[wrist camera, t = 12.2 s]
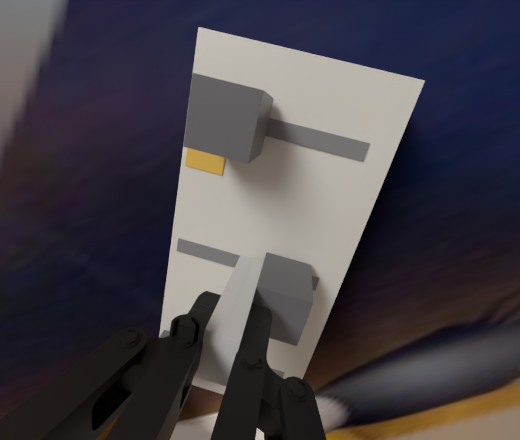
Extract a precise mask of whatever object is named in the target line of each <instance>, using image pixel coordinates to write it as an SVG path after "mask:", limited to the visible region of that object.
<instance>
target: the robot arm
mask: <svg viewBox="0 0 520 440" xmlns="http://www.w3.org/2000/svg"><path fill="white" fill-rule="evenodd" d="M263 262H264V261H261V260H258V259H254V258H251V257H247V256H244V255H240V257H239V259H238V261H237V264H236V266H235V268H234V270H233V272H232V274H231V276H230V278H229V280H228V282H227V285H226V287H225V289H224V291H223V293H222V295H219V294H216V293H212V292H209V291H205V292H203V293H202V294H200V295H199V296H198V297H197V299H196V301H195V303H194V304H193V306H192V307H191V309H190V311H189V312H188V314H183V315H179V316H177V317H175V318H174V319H173V320H172V321H171V327H170V334H169V336H168V337H164V338H147V335H146V333H145V332H144V331H143V330H141V329H138V328H126V329H122V330H121V331H119V332H117V333H115V334H114V335H113V336H111V337H110V338H109V339H107V340H106V341H105V342H103V343H102V344H101V345H99V346H98V347H97V348H95V349H94V350H93V351H92V352H90V353H89V354H88V355H86V356H85V357H84V358H82V359H81V360H80V361H78V362H77V363H76V364H74V365H73V366H72V367H70V368H69V369H68V370H66V371H65V372H64V373H62V374H61V375H60V376H58V377H57V378H56V379H54V380H53V381H52V382H50V383H49V384H48V385H46V386H45V387H44V388H42V389H41V390H40V391H38V392H37V393H36V394H34V395H33V396H32V397H30V398H29V399H28V400H26V401H25V402H24V403H22V404H21V405H20V406H18V407H17V408H16V409H14V410H13V411H12V412H10V413H9V414H8V415H6V416H5V417H4V418H2V419H1V420H0V440H96V439H97V438H98V437H99V436H100V435H101V433H102V432H103V431H104V430H105V429H106V428H107V427H108V426H109V425H110V424H111V423H112V422H113V421H114V419H115V418H116V417H117V416H118V415H119V414H120V413H121V412H122V413H121V414H120V416H119V417H118V419H117V421H116V422H115V424H114V425H113V427H112V429H111V430H110V432H109V433H108V435H107V437H106V438H105V440H170V437H171V435H172V433H173V430H174V428H175V425H176V423H177V421H178V418H179V416H180V414H181V411H182V409H183V406H184V404H185V402H186V399H187V397H188V395H189V392H190V390H191V385H192V381H193V378H194V376H195V374H196V376H195V377H197V378H200V379H203V380H206V381H209V382H213V383H216V384H219V385H222V386H225V387H226V389H225V392H224V396H223V399H222V403H221V406H220V409H219V413H218V416H217V419H216V423H215V426H214V430H213V433H212V436H211V440H255V436H256V429H257V428H258V429H260V430H261V431H262V432H264V439H265V440H326V437H325V433H324V429H323V425H322V422H321V418H320V414H319V411H318V407H317V403H316V399H315V396H314V393H313V390H312V388H311V387H310V386H309V384H308V383H307V382H306V381H304V380H303V379H301V378H298V377H295V376H292V377H287V378H286V379H284V378H282V377H280V376H279V375H277V374H276V373H275V372H274V371H273V370H272V369H271V368H270V366H269V364H268V362H267V349H268V343H269V337H270V331H271V324H272V318H273V316H272V313H271V310H270V309H268V308H265V307H262V306H258V305H255V304H252V302H253V298H254V294H255V291H256V287H257V284H258V280H259V276H260V273H261V269H262V266H263Z"/></svg>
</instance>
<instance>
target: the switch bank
mask: <svg viewBox="0 0 520 440" xmlns="http://www.w3.org/2000/svg"><path fill="white" fill-rule="evenodd" d="M193 73H196V74H200V75H204V76H208V77H212V78H216V79H220V80H224V81H228V82H232V83H236V84H240V85H244V86H248V87H252V88H256V89H260V90H264V91H265V92H266V93H268V94H269V95H270V96H271V97H272V98H274V100H273V104H272V109H271V113H270V117H269V122H268V126H267V130H266V135H265V139H264V143H263V148H262V152H261V154H260V155H259V156H258V157H256V158H255V159H254V160H252V161H251V162H250V163H248V164H247V163H243V162H240V161H236V160H232V159H228V158H225V157H221V156H217V155H213V154H209V153H206V152H202V151H198V150H194V149H191V148H187V147H183V153H182V161H181V169H180V177H179V185H178V193H177V200H176V208H175V216H174V224H173V232H172V240H171V248H170V256H169V264H168V271H167V279H166V287H165V295H164V303H163V311H162V319H161V327H160V335H161V334H162V332H163V331H164V330H167V331H170V327H171V321H172V320H173V319H174V318H175V317H177V316H179V315H183V314H188V312H189V311H190V309H191V307H192V306H193V304H194V303H195V301H196V299H197V297H198V296H199V295H200V294H202V293H203V292H205V291H209V292H212V293H216V294H219V295H222V293H223V291H224V289H225V287H226V285H227V282H228V280H229V278H230V276H231V274H232V272H233V270H234V268H235V266H236V264H237V261H238V259H239V257H240V255H244V256H247V257H251V258H254V259H258V260H261V261H264V259H265V255H266V252H268V253H271V254H275V255H278V256H282V257H286V258H289V259H293V260H296V261H300V262H303V263H307V264H310V265H311V272H312V289H313V305H312V308H311V310H310V313H309V316H308V318H307V321H306V324H305V326H304V329H303V332H302V334H301V337H300V340H299V342H298V345H297V346H294V345H291V344H288V343H284V342H281V341H278V340H274V339H271V338H269V343H268V349H267V362H268V364H269V366H270V368H271V369H272V370H273V371H274V372H275V373H276V374H277V375H279V376H280V377H282V378H284V379H286V378H287V377H292V376H295V377H298V378H301V379H303V377H304V374H305V372H306V369H307V367H308V365H309V362H310V360H311V357H312V355H313V352H314V350H315V347H316V345H317V343H318V340H319V338H320V335H321V333H322V330H323V328H324V326H325V323H326V321H327V318H328V316H329V313H330V311H331V308H332V306H333V304H334V301H335V299H336V296H337V294H338V291H339V289H340V287H341V284H342V282H343V279H344V277H345V274H346V272H347V269H348V267H349V265H350V262H351V260H352V257H353V255H354V252H355V250H356V248H357V245H358V243H359V240H360V238H361V235H362V233H363V230H364V228H365V226H366V223H367V221H368V218H369V216H370V213H371V211H372V209H373V206H374V204H375V201H376V199H377V196H378V194H379V191H380V189H381V187H382V184H383V182H384V179H385V177H386V174H387V172H388V170H389V167H390V165H391V162H392V160H393V157H394V155H395V152H396V150H397V148H398V145H399V143H400V140H401V138H402V135H403V133H404V131H405V128H406V126H407V123H408V121H409V118H410V116H411V113H412V111H413V109H414V106H415V104H416V101H417V99H418V96H419V94H420V92H421V89H422V87H423V84H424V82H425V81H424V80H420V79H416V78H411V77H407V76H403V75H399V74H395V73H390V72H386V71H382V70H378V69H373V68H369V67H365V66H361V65H357V64H352V63H348V62H344V61H340V60H336V59H331V58H327V57H323V56H319V55H314V54H310V53H306V52H302V51H298V50H293V49H289V48H285V47H281V46H277V45H272V44H268V43H264V42H260V41H255V40H251V39H247V38H243V37H239V36H234V35H230V34H226V33H222V32H217V31H213V30H209V29H205V28H201V27H198V35H197V43H196V51H195V58H194V66H193ZM192 75H193V74H192ZM191 83H192V82H191ZM190 91H191V90H190ZM189 99H190V98H189ZM188 107H189V106H188ZM187 115H188V114H187ZM186 123H187V122H186ZM185 131H186V129H185ZM184 138H185V137H184ZM183 146H184V145H183ZM160 335H159V337H160ZM195 376H196V374H195ZM195 376H194V378H193V381H192V385H195V386H198V387H201V388H204V389H208V390H211V391H214V392H217V393H220V394H223V395H224V392H225V389H226V387H225V386H222V385H219V384H216V383H213V382H209V381H206V380H203V379H200V378H197V377H195Z"/></svg>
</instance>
